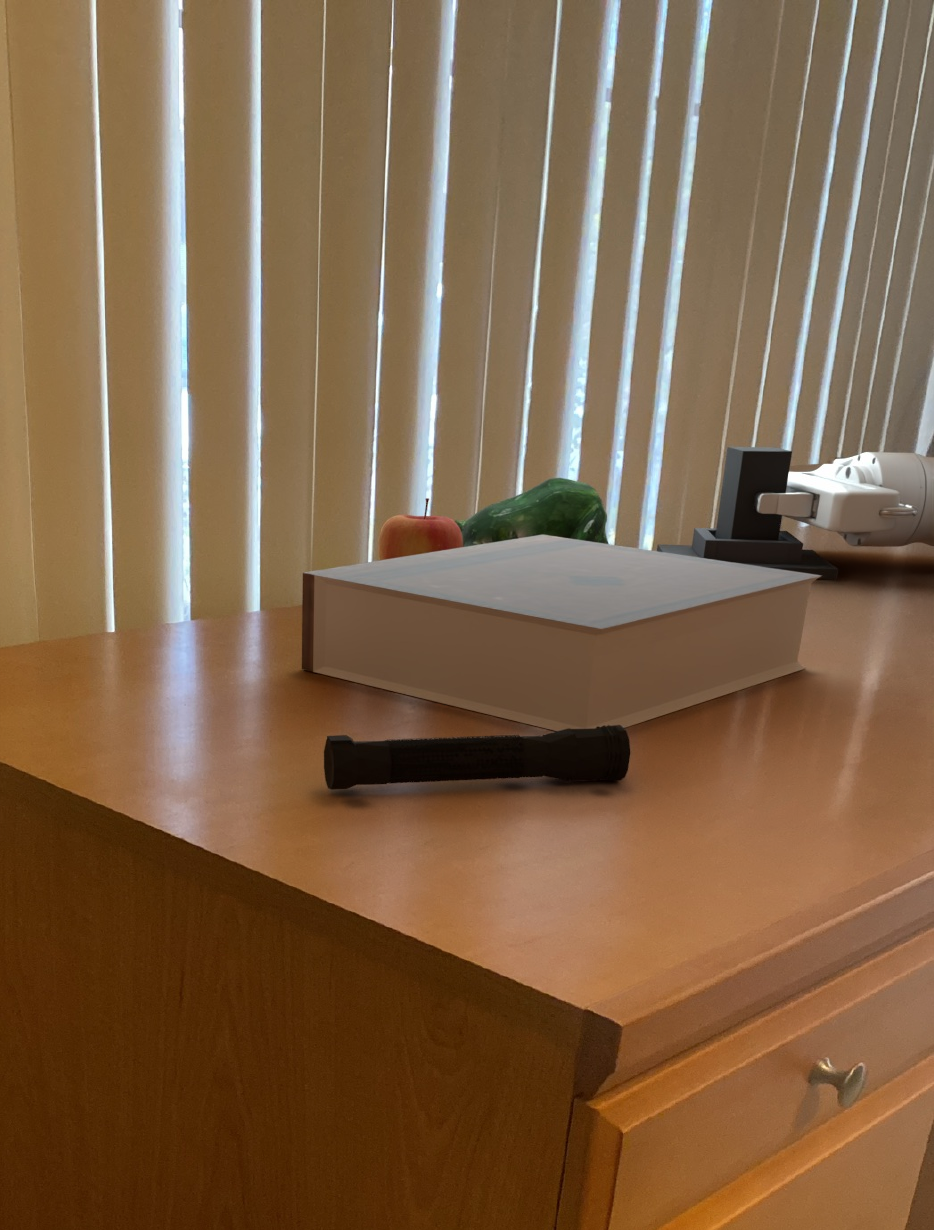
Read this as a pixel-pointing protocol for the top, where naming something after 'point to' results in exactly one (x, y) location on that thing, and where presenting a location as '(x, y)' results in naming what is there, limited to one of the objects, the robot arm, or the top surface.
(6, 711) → the top surface
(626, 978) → the top surface
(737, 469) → the dark grey block
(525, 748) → the flashlight
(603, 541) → the green pepper
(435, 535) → the apple
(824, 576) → the base pad
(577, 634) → the book
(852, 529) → the robot arm
